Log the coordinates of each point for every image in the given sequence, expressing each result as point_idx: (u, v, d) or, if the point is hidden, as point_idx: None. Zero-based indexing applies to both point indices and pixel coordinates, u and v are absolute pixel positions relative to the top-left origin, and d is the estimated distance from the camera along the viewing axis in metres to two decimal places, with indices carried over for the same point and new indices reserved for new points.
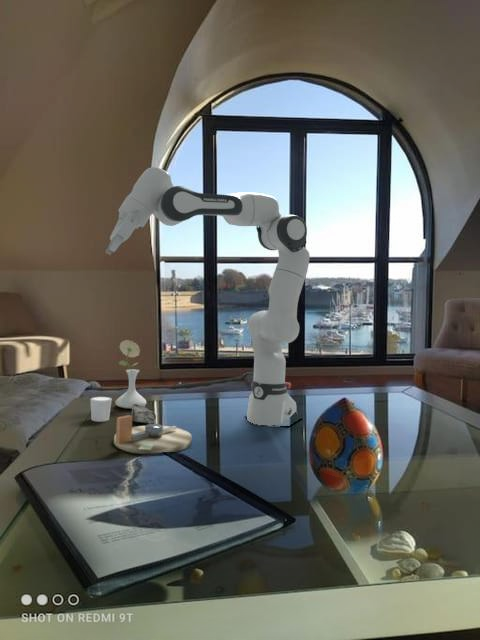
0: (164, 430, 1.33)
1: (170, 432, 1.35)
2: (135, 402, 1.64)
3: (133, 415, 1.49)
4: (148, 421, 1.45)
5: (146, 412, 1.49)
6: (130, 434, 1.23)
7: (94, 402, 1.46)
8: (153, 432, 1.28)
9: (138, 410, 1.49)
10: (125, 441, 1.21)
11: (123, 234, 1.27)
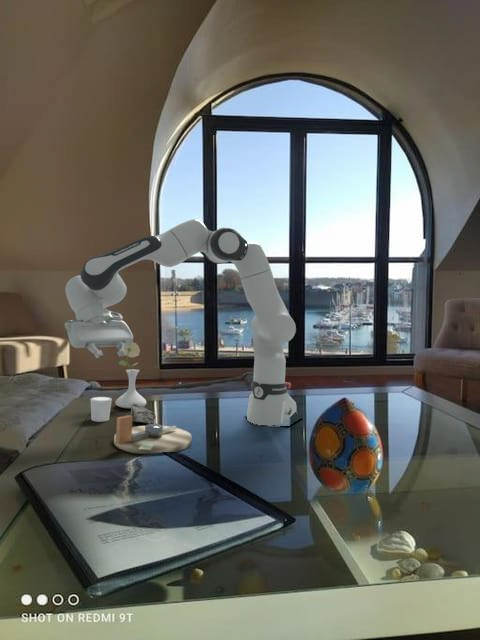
0: (164, 430, 1.33)
1: (170, 432, 1.35)
2: (135, 402, 1.64)
3: (132, 415, 1.49)
4: (147, 421, 1.45)
5: (145, 412, 1.48)
6: (130, 434, 1.23)
7: (94, 402, 1.46)
8: (153, 432, 1.28)
9: (137, 410, 1.49)
10: (125, 441, 1.21)
11: (75, 343, 1.27)
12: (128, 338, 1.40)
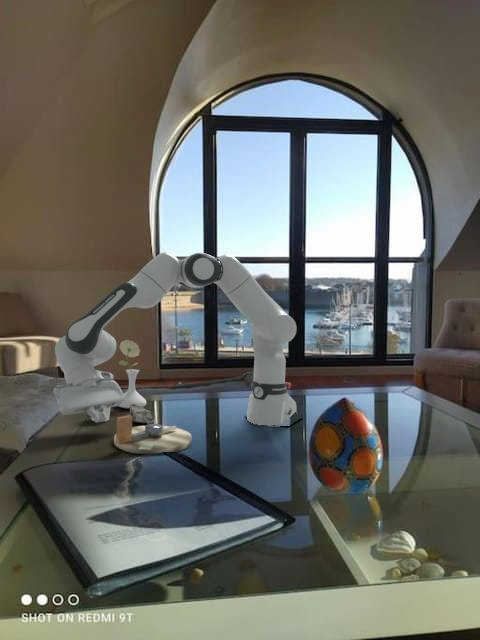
0: (164, 430, 1.33)
1: (170, 432, 1.35)
2: (135, 402, 1.64)
3: (131, 415, 1.49)
4: (147, 421, 1.45)
5: (144, 412, 1.48)
6: (130, 434, 1.23)
7: None
8: (153, 432, 1.28)
9: (136, 410, 1.49)
10: (125, 441, 1.21)
11: (64, 411, 1.25)
12: (119, 399, 1.38)
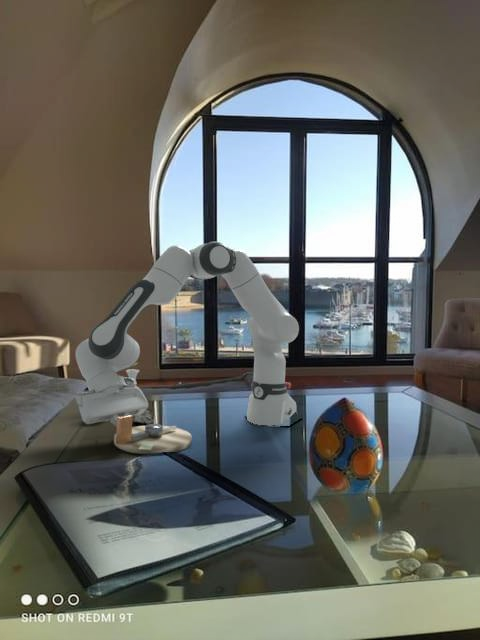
0: (164, 430, 1.33)
1: (170, 432, 1.35)
2: None
3: None
4: (146, 421, 1.45)
5: None
6: (130, 434, 1.23)
7: None
8: (153, 432, 1.28)
9: None
10: (125, 441, 1.21)
11: (87, 420, 1.18)
12: (143, 406, 1.31)
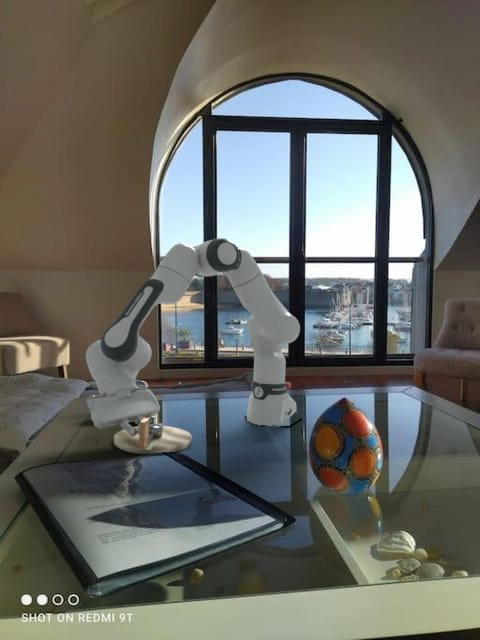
0: None
1: (170, 432, 1.35)
2: None
3: None
4: None
5: None
6: (148, 437, 1.21)
7: None
8: (158, 431, 1.28)
9: None
10: (146, 444, 1.20)
11: (99, 424, 1.15)
12: (155, 410, 1.28)
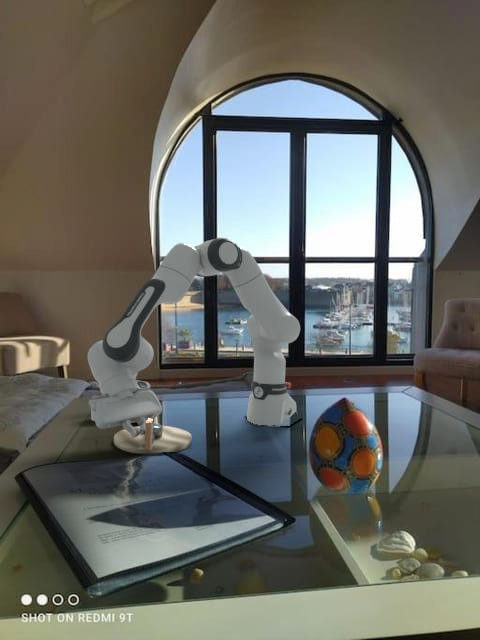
0: None
1: (170, 432, 1.35)
2: None
3: None
4: None
5: None
6: (152, 437, 1.21)
7: None
8: (159, 431, 1.28)
9: None
10: (151, 445, 1.20)
11: (101, 425, 1.15)
12: (157, 411, 1.28)
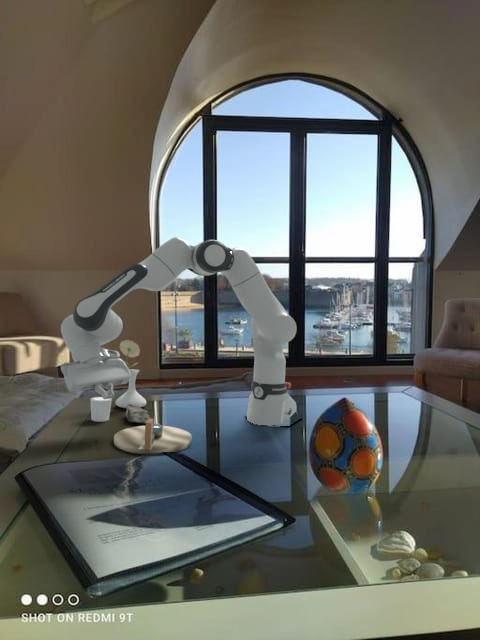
0: None
1: (170, 432, 1.35)
2: (135, 402, 1.64)
3: (128, 415, 1.49)
4: (144, 421, 1.45)
5: (142, 412, 1.48)
6: (152, 437, 1.21)
7: (94, 402, 1.46)
8: (159, 431, 1.28)
9: (133, 410, 1.48)
10: (151, 445, 1.20)
11: (72, 388, 1.25)
12: (126, 377, 1.38)
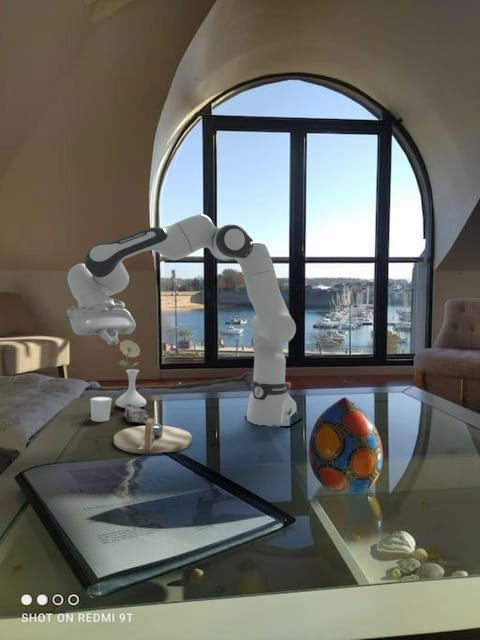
0: None
1: (170, 432, 1.35)
2: (135, 402, 1.64)
3: (127, 415, 1.48)
4: (143, 421, 1.45)
5: (141, 412, 1.48)
6: (152, 437, 1.21)
7: (94, 402, 1.46)
8: (159, 431, 1.28)
9: (132, 410, 1.48)
10: (151, 445, 1.20)
11: (77, 330, 1.26)
12: (131, 326, 1.39)
